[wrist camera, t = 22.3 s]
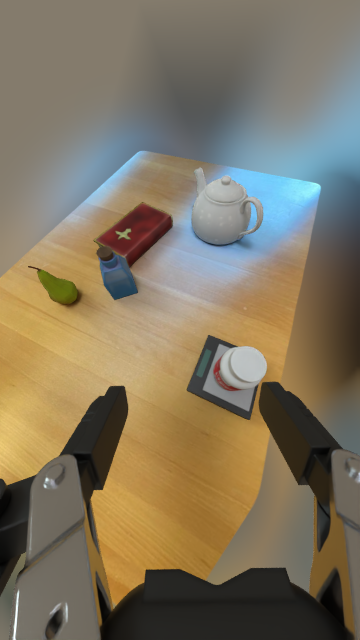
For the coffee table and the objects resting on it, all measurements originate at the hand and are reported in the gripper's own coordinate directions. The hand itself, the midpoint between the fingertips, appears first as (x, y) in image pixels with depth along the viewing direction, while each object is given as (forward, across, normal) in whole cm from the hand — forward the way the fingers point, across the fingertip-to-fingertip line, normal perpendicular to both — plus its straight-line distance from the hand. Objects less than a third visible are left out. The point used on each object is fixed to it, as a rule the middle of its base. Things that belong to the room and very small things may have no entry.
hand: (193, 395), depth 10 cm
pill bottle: (+19, +8, -13) cm, 25 cm away
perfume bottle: (+37, -16, +1) cm, 41 cm away
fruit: (+35, -29, -1) cm, 46 cm away
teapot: (+52, +12, +16) cm, 56 cm away
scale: (+21, +8, -15) cm, 27 cm away
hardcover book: (+50, -14, +14) cm, 54 cm away
